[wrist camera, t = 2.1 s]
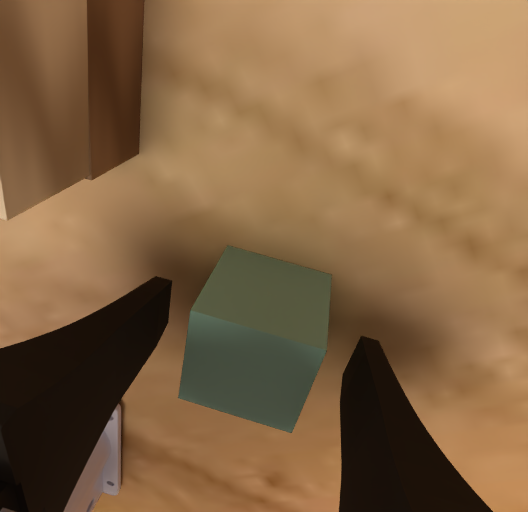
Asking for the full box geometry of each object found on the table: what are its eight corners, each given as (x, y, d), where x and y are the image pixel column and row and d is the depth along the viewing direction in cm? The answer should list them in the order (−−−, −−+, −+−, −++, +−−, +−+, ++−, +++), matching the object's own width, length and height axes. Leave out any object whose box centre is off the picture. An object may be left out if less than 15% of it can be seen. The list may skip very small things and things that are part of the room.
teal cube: (303, 349, 16) (291, 433, 13) (213, 322, 16) (178, 398, 13) (332, 273, 14) (326, 350, 10) (228, 243, 14) (190, 310, 11)
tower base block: (141, 152, 13) (91, 180, 10) (7, 115, 13) (-73, 133, 11) (148, -24, 10) (83, -43, 8) (-19, -66, 11) (-134, -99, 8)
